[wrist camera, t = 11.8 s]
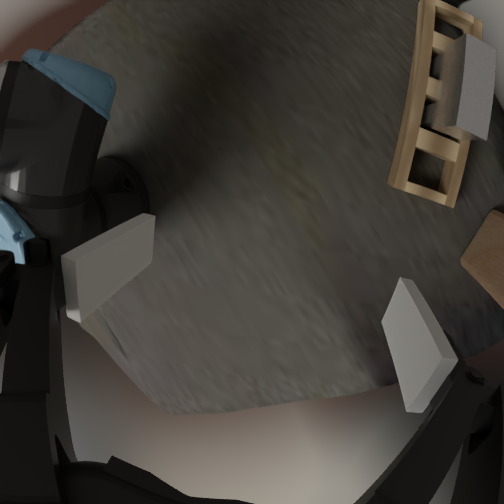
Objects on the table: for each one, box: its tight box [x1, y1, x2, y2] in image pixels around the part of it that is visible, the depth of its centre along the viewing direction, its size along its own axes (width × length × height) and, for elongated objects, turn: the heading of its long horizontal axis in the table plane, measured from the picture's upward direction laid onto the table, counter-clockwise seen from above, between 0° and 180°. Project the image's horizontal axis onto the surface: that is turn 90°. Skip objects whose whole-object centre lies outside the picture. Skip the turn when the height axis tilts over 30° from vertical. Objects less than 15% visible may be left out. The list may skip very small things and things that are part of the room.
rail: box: [387, 0, 483, 208], centre depth 30 cm, size 9×28×4 cm, turn 169°
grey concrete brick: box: [421, 33, 496, 141], centre depth 26 cm, size 4×11×12 cm, turn 169°
